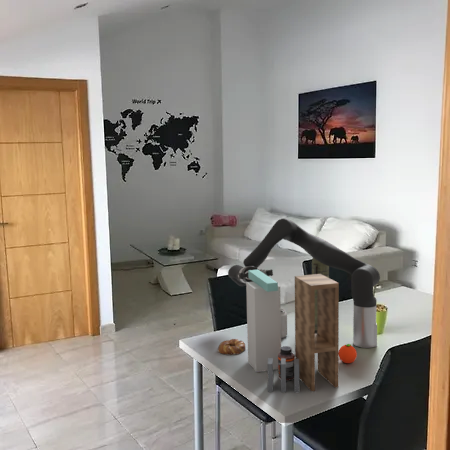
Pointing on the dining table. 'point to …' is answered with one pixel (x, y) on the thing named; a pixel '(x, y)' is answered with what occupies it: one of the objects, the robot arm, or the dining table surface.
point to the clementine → (347, 353)
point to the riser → (263, 326)
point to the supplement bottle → (286, 353)
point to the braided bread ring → (231, 347)
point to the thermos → (318, 269)
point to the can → (283, 323)
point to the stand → (326, 328)
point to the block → (263, 280)
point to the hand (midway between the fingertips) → (260, 274)
